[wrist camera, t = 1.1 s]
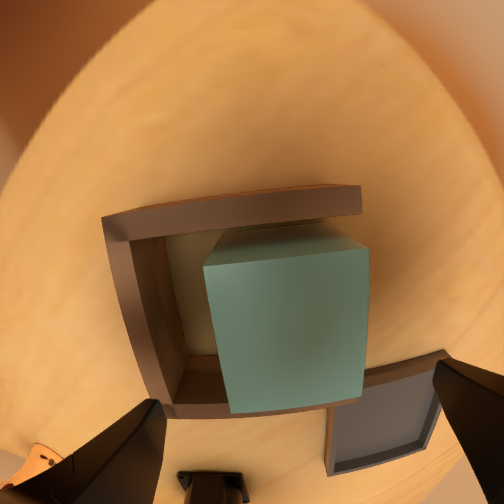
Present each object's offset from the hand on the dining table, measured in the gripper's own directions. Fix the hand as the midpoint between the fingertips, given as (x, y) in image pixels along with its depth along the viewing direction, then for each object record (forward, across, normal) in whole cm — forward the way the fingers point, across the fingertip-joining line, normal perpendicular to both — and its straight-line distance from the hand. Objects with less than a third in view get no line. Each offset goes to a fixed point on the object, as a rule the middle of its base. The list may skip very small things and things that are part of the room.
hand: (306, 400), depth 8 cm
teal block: (+10, 0, 0) cm, 10 cm away
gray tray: (+10, -8, +13) cm, 18 cm away
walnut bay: (+10, +2, 0) cm, 10 cm away
